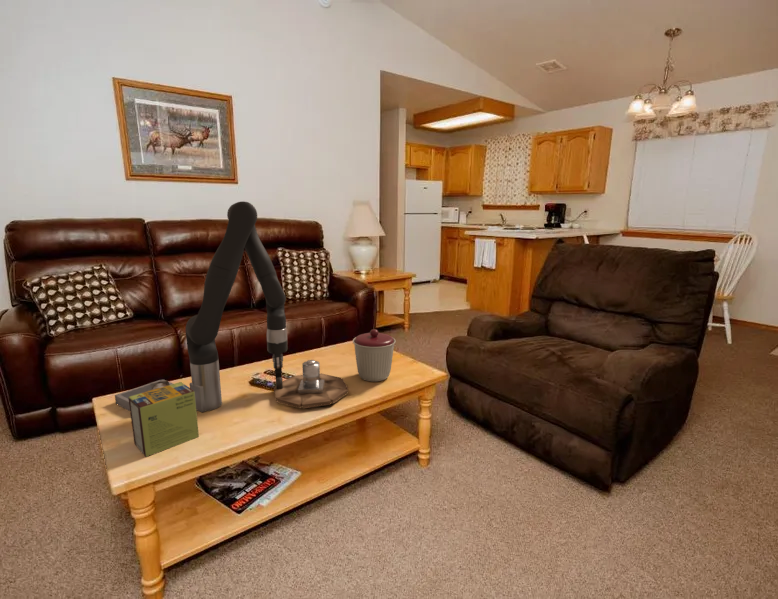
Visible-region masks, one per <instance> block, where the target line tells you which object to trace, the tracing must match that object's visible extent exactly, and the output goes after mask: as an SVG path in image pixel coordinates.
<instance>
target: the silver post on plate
mask: <svg viewBox="0 0 778 599" xmlns="http://www.w3.org/2000/svg"><path fill="white" fill-rule="evenodd" d="M301 367H302V375H303V380H301V383H300V386H299V388H298V393H323V388H324V383H325V382H324V380H320V374H321V372H320V371H321V370H320V367H321V366H320V362H319V361H318V360H315V359H307V360H306V361H304V362H302V366H301Z"/></svg>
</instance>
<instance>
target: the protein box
mask: <svg viewBox="0 0 778 599" xmlns="http://www.w3.org/2000/svg"><path fill="white" fill-rule="evenodd" d="M128 399H129V407H130V411H129V412H130V414H129V415H130V419H131V427H132V436H133V442H134V446H136V447H137V449H138V450H139V451H140V452H141V454H143V456H144V457H145V456H146V458H147V457H150V456H152V454H153V455H155V454H157V452H158V453H160V451H161V452H162V451H165V449H166V450H168V449H171V448H174V447H176V446H179V445H181V444H184V443H186V442H188V441H191V440H195V439H196V438H199V437H200V435H199V424H198V415H197V414H198V413H197V410H196V402H195V391H194V390H192V389H191V388H190V386H188V385H186V384H184V382H182V381H179V382H176V383H173V384H172V385H169V386H165V387H161V388H158V389H154V390H151V391H148V392H144V393H140V394H137V395H134V396H130V397H128ZM173 446H174V447H173ZM154 453H155V454H154ZM149 455H150V456H149Z"/></svg>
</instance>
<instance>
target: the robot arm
mask: <svg viewBox="0 0 778 599" xmlns="http://www.w3.org/2000/svg"><path fill="white" fill-rule="evenodd" d="M226 215H227V219H228V223H227V226H226V230H225V233H224V236H223V239H222V241H221V242H220V244H219V246H218V247H217V249H216V251H215V253H214V255H213V257H212V259H211V261H210V264H209V267H208V270H207V273H206V275H205V280H204V286H203V297H202V302H201V306H200V308H199V310H198V312H197V314H195V315H193V316H191V317H190V318H189V319H188V320H187V321H186V324H185V338H186V339H185V340H186V347H187V348H186V349H187V354H188V357H189V367H190V375H191V376H190V378H191V382H189V388H191V389H192V390H194V391H195V402H196V411H197V412H200V413H204V412H209V411H213V410H216V409H218V408H220V407H221V406H222V405H223V400H222V399H223V398H222V386H221V375H220V373H221V372H220V363H219V353H218V350H217V349H218V348H217V345H216V338H217V337H218V333H219V329H220V326H221V320H222V317H223V312H224V309H225V307H226V305H227V302H228V299H229V296H230V295H231V291H232V289H233V286H234V283H235V281H236V279H237V278H236V277H237V275H238V272H239V269H240V266H241V262H242V259H243V255H244V250H245V251H246V254H247V256H248V259H249V261H250V262H249V263H250V264H251V267H252V270H253V273H254V274H255V277H256V279H257V281H258V283H259V284H260V288H261V289H262V290H261V291H262V293H263V296H264V298H265V306H266V349H267V352H268V353H269V354H271V355H272V362H273V363H272V364H273V369H274V374H275V379H276V378H278V377H282V373H283V367H284V366H283V365H284V363H283V362H284V354H283V353H286V352H287V351H288V330H287V320H286V319H287V318H286V313H285V312H286V311H285V303H286V300H287V296H286V294H285V292H284V289H283V287H282V286H281V283H280V281H279V279H278V275H277V271H276V269H275V267H274V264H273V262H272V259H271V257H270V255H269V253H268V252H267V250H266V248H265V247H264V245H263V243H262V241H261V239H260V236H259V234H258V231H257V228H256V223H257V221H258V211H257V209H256V207H255V206H254V205H253V204H252V203H251V202H248V201H244V200H243V201H238V202H235V203H232V204H231V205H229V208H228V209H227V214H226Z"/></svg>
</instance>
